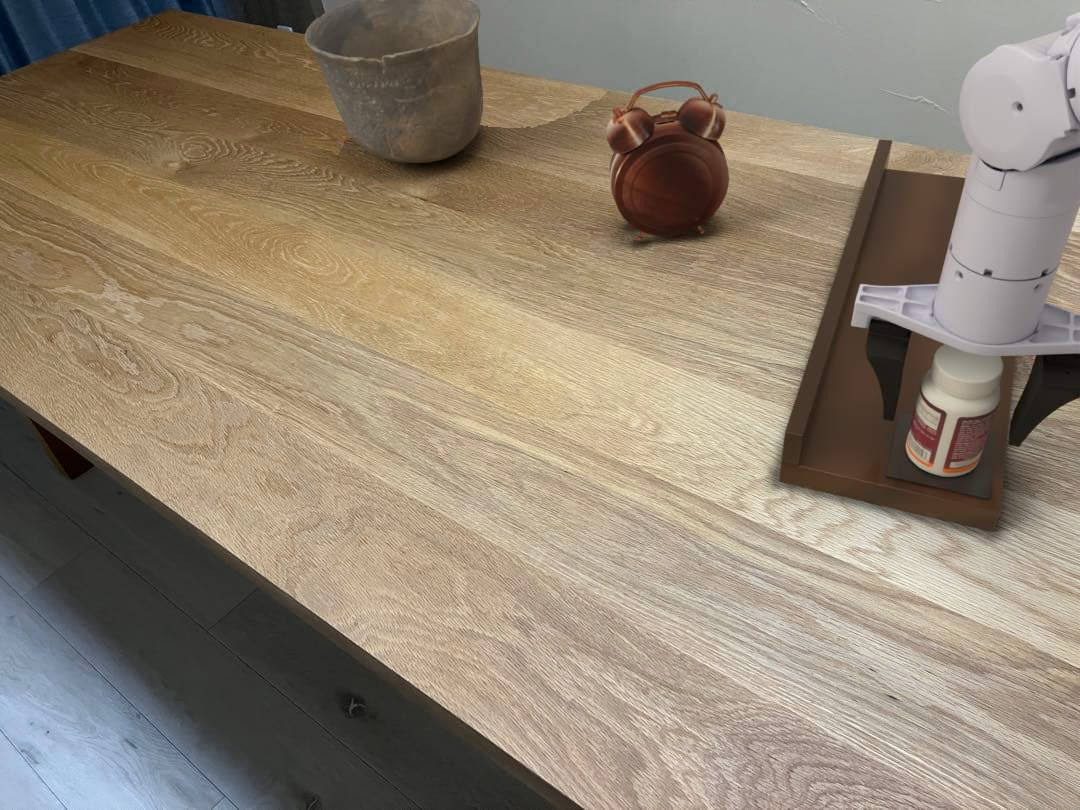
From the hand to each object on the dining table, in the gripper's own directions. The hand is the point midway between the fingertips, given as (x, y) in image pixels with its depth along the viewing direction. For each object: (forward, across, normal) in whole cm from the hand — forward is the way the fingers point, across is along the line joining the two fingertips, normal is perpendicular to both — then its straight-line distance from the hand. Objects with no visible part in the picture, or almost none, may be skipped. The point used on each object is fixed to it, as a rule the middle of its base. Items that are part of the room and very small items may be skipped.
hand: (951, 422), depth 60 cm
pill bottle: (+3, 0, 0) cm, 3 cm away
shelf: (+5, +3, -16) cm, 18 cm away
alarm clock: (+5, +27, -24) cm, 37 cm away
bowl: (+5, +59, -32) cm, 67 cm away
